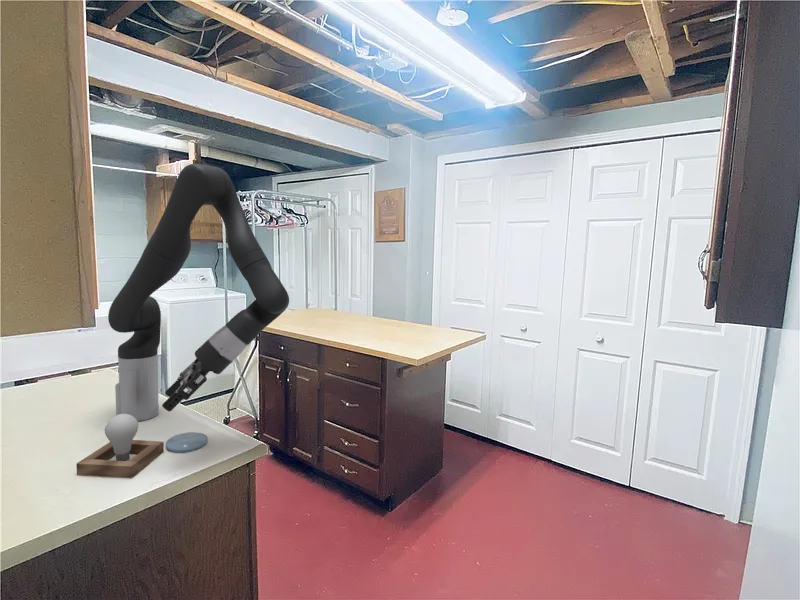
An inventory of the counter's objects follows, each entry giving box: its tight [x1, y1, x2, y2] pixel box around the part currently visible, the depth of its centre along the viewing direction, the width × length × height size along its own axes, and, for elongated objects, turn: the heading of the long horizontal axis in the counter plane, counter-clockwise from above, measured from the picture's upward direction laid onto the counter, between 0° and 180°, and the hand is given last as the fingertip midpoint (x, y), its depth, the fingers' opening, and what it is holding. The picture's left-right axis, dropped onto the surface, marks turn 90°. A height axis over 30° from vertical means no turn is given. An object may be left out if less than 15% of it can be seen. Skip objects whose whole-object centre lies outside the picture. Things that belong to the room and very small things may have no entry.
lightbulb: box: [104, 414, 139, 461], centre depth 93 cm, size 6×6×11 cm
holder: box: [76, 439, 165, 479], centre depth 94 cm, size 12×12×2 cm
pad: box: [165, 431, 208, 454], centre depth 104 cm, size 9×9×1 cm
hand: (166, 401), depth 96 cm, fingers open, 8 cm apart
